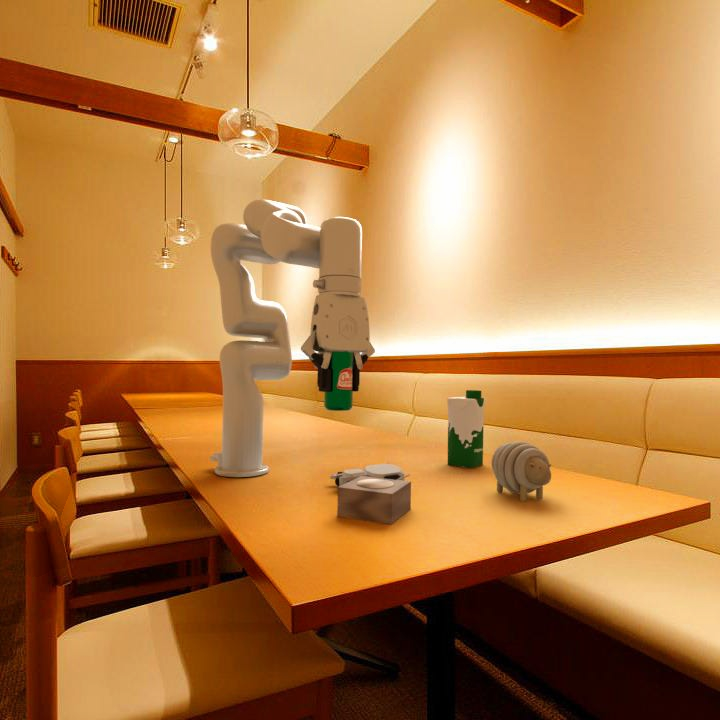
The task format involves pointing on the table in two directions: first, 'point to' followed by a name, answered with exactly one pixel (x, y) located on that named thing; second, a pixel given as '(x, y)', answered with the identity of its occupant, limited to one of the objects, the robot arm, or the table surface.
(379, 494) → the base brick
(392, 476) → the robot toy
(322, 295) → the robot arm
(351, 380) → the soda can
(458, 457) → the milk carton
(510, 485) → the toy sheep
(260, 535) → the table surface
